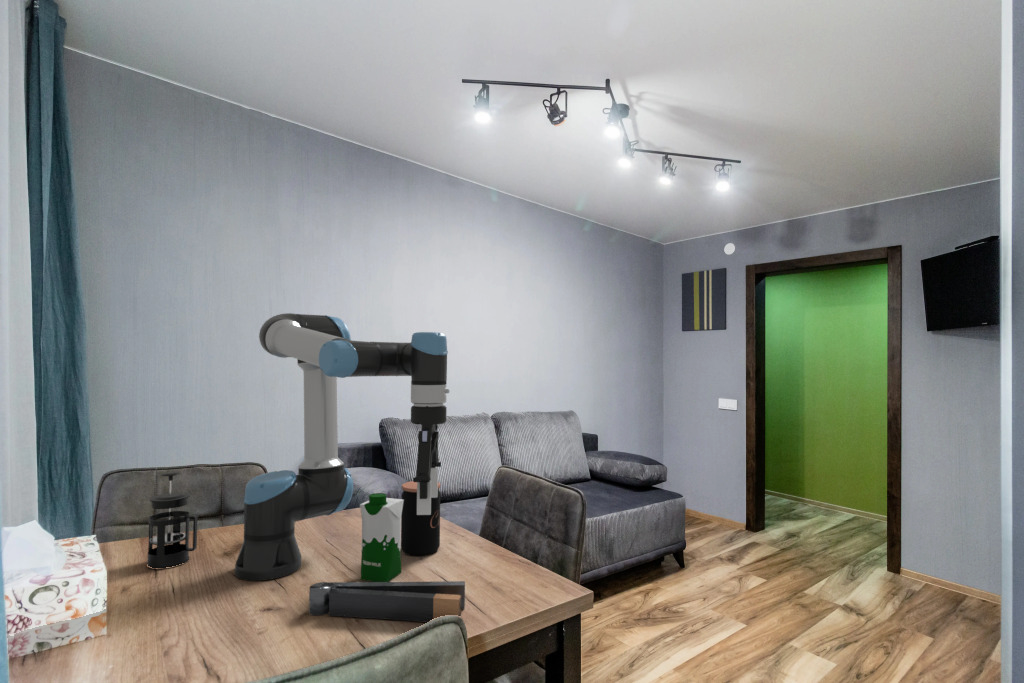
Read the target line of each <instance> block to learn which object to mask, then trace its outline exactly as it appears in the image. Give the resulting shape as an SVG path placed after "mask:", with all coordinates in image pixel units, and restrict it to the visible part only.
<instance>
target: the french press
mask: <svg viewBox="0 0 1024 683" xmlns="http://www.w3.org/2000/svg"><path fill="white" fill-rule="evenodd" d="M180 474H181V472H180V471H179V472H178V471H170V472H169V471H168V472H165V473H164V472H163V473H161V477H168V481H169V493H168V492H167V493H161V494H157V495H154V496H151V497H150V498H149V502H151V507H152V509H154V510H167V509H168V511H164V512H160V513H156V514H153V515H151V516H149V517H148V547H147V548H148V549H147V551H148V552H147V562H146V564H148V566H150V567H152V568H166V567H172V566H176V565H179V564H182V563H185V562H187V561H188V560H189V561H190V559H189V558H190V555H189V554H190V552H194V551H195V550H196V549H197V545H198V514H191V513H190V512H189V511H188V510H187V511H185V510H173V511H171V509H176V508H180V507H183V506H187V505H188V504H189V498H190V497H191V493H188V492H172V481H173V480H174V476H178V475H180ZM171 517H173V518H172V519H171ZM163 518H164V519H165V518H168V519H165V520H159V519H163ZM190 519H193V526H192V529H193V530H192V531H193V532H192V547H190V545H189V543H190V542H189V541H190ZM183 523H185V530H184V531H185V532H181V524H183ZM166 526H168V532H167V533H166ZM171 526H172V532H171ZM154 527H156V528H157V533H156V536H154ZM183 541H185V542H184V543H181V542H183ZM153 545H154V546H155V547H154V548H153ZM189 561H188V562H189ZM188 562H187V563H188ZM185 564H186V563H185Z"/></svg>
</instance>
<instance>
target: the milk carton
mask: <svg viewBox="0 0 1024 683" xmlns="http://www.w3.org/2000/svg"><path fill="white" fill-rule="evenodd" d="M403 502H404V500H403V499H402V498H392V497H387V494H386V493H383V492H380V493H379V492H375V493H371V494H369V495H368V500H366V501H364V502H363V503H360V504H359V508H360V513H361V558H360V559H361V560H360V561H361V564H360V580H362V581H365V582H391V581H392V580H393V579H394V578H395V577H397V576H399V575H400V574H401V573H402V558H401V553H402V552H401V551H402V549H401V515H402V508H403Z"/></svg>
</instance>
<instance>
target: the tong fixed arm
mask: <svg viewBox="0 0 1024 683" xmlns="http://www.w3.org/2000/svg"><path fill="white" fill-rule="evenodd" d="M333 588H344V589H361V590H378V591H395V592H412V593H428V594H451V595H461V610H465V608H466V607H465V606H466V604H465V603H466V597H465V596H466V581H464V580H463V581H462V580H459V581H454V580H453V581H452V580H451V581H447V580H446V581H389V582H373V581H360V582H359V581H353V582H352V581H350V582H349V581H347V582H345V581H343V582H342V581H339V582H334V581H333V582H329V581H328V582H326V581H321V582H317V583H314V584H311V585H310V586H309V590H308V592H309V597H308V598H309V599H308V600H309V601H308V614H309V615H311V616H315V617H316V616H317V617H319V616H320V617H321V616H324V615H328V614H329V592H330V591H331V590H332V589H333Z"/></svg>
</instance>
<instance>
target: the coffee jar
mask: <svg viewBox="0 0 1024 683" xmlns="http://www.w3.org/2000/svg"><path fill="white" fill-rule="evenodd" d="M440 488H441V483H440V482H439V481H438V497H437V498H431V515H417V482H413V480H411V481H407V482H404V483H403V484H402V485H401V490H402V493H401V499H403V500H404V502H403V508H402V515H401V551H402V552H403V553H404V554H405V555H407V556H410V557H411V556H412V557H423V556H424V557H425V556H429V555H433V554H435V553H437V551H438V549H439V548H440V546H441V543H440V542H441V540H440V539H441V538H440V537H441V491H440Z"/></svg>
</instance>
